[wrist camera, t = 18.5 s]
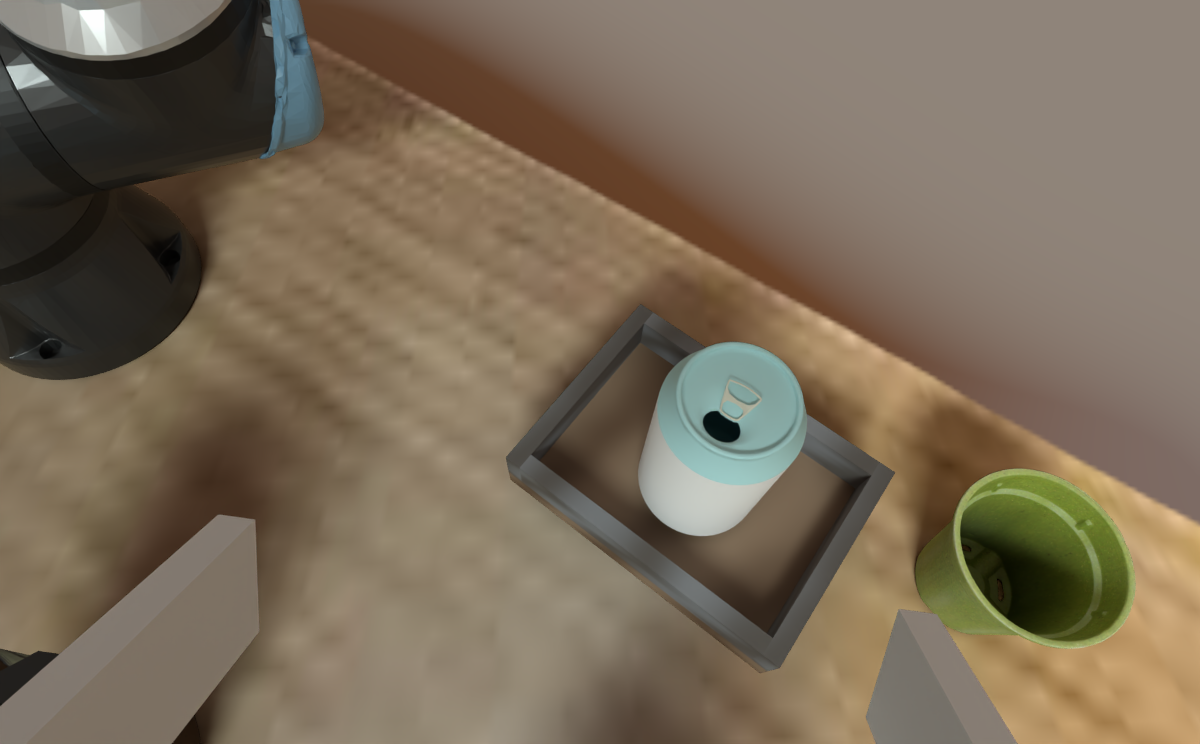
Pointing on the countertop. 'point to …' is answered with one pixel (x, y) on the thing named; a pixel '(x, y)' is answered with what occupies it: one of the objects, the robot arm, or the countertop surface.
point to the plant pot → (1029, 563)
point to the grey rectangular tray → (686, 562)
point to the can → (720, 437)
